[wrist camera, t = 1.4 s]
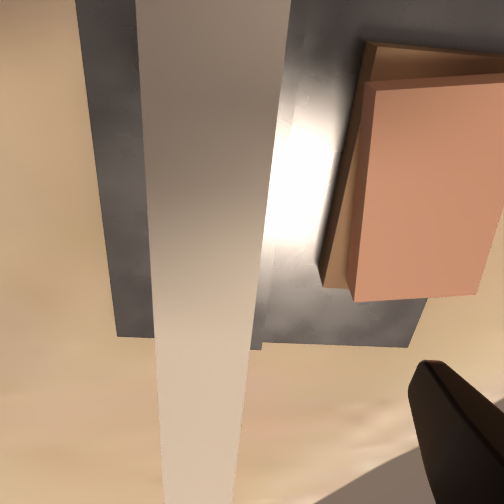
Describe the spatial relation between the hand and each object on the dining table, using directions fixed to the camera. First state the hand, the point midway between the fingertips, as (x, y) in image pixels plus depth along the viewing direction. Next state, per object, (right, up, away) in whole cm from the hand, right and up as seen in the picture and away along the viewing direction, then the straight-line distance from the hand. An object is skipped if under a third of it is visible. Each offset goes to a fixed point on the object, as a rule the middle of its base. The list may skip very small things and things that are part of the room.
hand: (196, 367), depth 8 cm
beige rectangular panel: (0, +6, +9) cm, 11 cm away
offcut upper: (+8, +5, +8) cm, 12 cm away
